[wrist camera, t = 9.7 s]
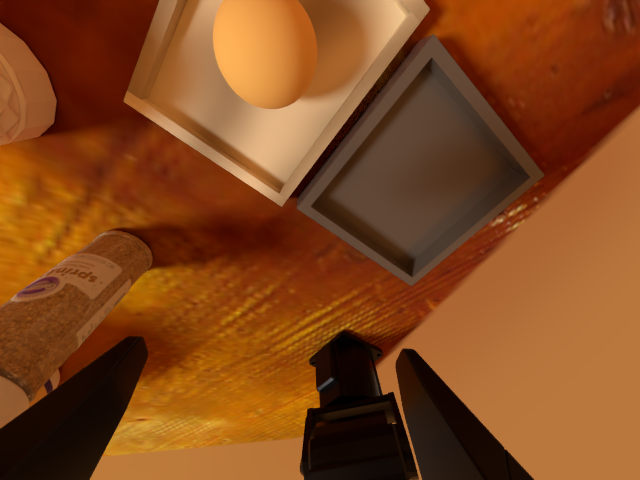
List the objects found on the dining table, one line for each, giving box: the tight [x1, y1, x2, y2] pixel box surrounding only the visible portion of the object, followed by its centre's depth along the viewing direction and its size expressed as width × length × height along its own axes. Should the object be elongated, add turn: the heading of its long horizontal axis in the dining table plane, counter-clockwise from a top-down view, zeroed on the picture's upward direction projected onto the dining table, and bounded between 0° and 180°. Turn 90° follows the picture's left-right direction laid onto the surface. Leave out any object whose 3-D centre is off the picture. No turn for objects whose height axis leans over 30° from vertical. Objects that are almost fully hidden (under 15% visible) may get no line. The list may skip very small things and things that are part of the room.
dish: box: [297, 34, 545, 286], centre depth 19 cm, size 12×12×2 cm
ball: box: [213, 0, 317, 109], centre depth 12 cm, size 5×5×5 cm
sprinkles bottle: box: [0, 230, 153, 428], centre depth 16 cm, size 5×5×14 cm
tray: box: [123, 0, 430, 207], centre depth 15 cm, size 11×14×2 cm
